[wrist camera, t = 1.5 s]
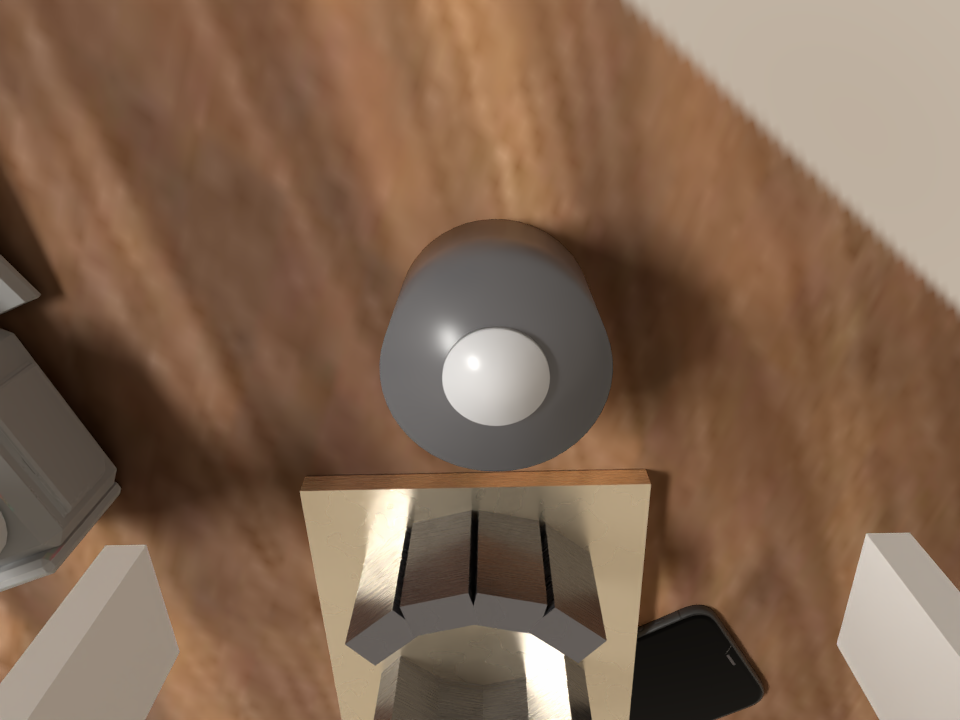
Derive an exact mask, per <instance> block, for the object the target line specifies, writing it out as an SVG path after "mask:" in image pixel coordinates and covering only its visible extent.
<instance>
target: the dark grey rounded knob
mask: <svg viewBox="0 0 960 720" xmlns="http://www.w3.org/2000/svg"><path fill="white" fill-rule="evenodd" d="M612 374H613V359H612V353H611V347H610V343H609V340H608V336H607V333H606V330H605V328H604V325H603V323H602V320H601V318H600V315H599V312H598V310H597V307H596V305H595V302H594V300H593V297H592V294H591V292H590V289H589V287H588V284H587V282H586V279H585V277H584V274H583V272H582V270H581V268H580V266H579V265H578V263H577V262H576V260H575V259H574V257H573V256H572V255H571V253H570V252H569V251H568V250H567V249H566V248H565V247H564V246H563V245H562V244H561V243H560V242H558V241H557V240H556V239H555V238H553V237H552V236H550V235H549V234H547V233H545V232H544V231H542V230H540V229H538V228H535V227H533V226H531V225H528V224H524V223H521V222H517V221H511V220H502V219H489V220H479V221H474V222H470V223H466V224H463V225H460V226H458V227H455V228H453V229H451V230H449V231H447V232H445V233H443V234H442V235H440V236H439V237H437V238H436V239H435V240H433V241H432V242H431V243H430V244H429V245H428V246H427V247H425V248H424V249H423V250H422V252H421V253H420V254H419V255H418V256H417V258H416V259H415V260H414V262H413V264H412V265H411V267H410V269H409V270H408V273H407V275H406V277H405V280H404V282H403V285H402V288H401V291H400V294H399V297H398V300H397V303H396V306H395V309H394V311H393V314H392V317H391V320H390V323H389V326H388V329H387V332H386V335H385V338H384V342H383V346H382V349H381V356H380V380H381V385H382V391H383V394H384V397H385V400H386V403H387V405H388V407H389V409H390V411H391V413H392V415H393V417H394V418H395V420H396V421H397V423H398V424H399V426H400V427H401V428H402V429H403V431H404V432H405V433H406V434H407V435H408V436H409V437H410V438H411V439H412V440H413V441H414V442H415V443H417V444H418V445H419V446H420V447H422V448H423V449H425V450H426V451H427V452H429V453H430V454H432V455H434V456H436V457H438V458H440V459H442V460H444V461H446V462H449V463H452V464H454V465H457V466H461V467H465V468H469V469H474V470H481V471H511V470H517V469H523V468H527V467H531V466H534V465H537V464H540V463H543V462H545V461H547V460H550V459H552V458H554V457H556V456H557V455H559V454H561V453H563V452H564V451H566V450H567V449H569V448H570V447H571V446H573V445H574V444H575V443H577V442H578V441H579V440H580V439H581V438H582V437H583V436H584V435H585V434H586V433H587V432H588V430H589V429H590V428H591V427H592V425H593V424H594V423H595V421H596V420H597V418H598V417H599V415H600V413H601V412H602V410H603V407H604V405H605V403H606V401H607V398H608V394H609V391H610V387H611V382H612Z"/></svg>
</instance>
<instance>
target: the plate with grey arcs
mask: <svg viewBox="0 0 960 720" xmlns="http://www.w3.org/2000/svg"><path fill="white" fill-rule="evenodd" d="M650 490H651V483H650V480H649V477H648V474H647V471H646V469H638V470H590V471H542V472H494V473H445V474H397V475H349V476H306V477H305V479H304V482H303V484H302V487H301V489H300V496H301V501H302V507H303V512H304V518H305V523H306V528H307V534H308V539H309V545H310V550H311V556H312V561H313V566H314V572H315V577H316V583H317V588H318V593H319V599H320V604H321V610H322V615H323V621H324V626H325V631H326V637H327V642H328V648H329V653H330V659H331V664H332V669H333V675H334V680H335V686H336V691H337V696H338V702H339V707H340V713H341V718H342V720H629V716H630V705H631V694H632V683H633V673H634V662H635V651H636V640H637V630H638V619H639V608H640V597H641V586H642V576H643V565H644V554H645V543H646V533H647V522H648V511H649V500H650Z"/></svg>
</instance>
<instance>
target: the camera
mask: <svg viewBox="0 0 960 720" xmlns="http://www.w3.org/2000/svg"><path fill="white" fill-rule="evenodd" d="M40 295H41V294H40V293H39V292H38V291H37V290H36V289H35V288H34V287H33V286H32V285H31V284H30V283H29V282H28V281H27V280H26V279H25V278H24V277H23V276H22V275H21V274H20V273H19V272H18V271H17V270H16V269H15V268H14V267H13V266H12V265H11V264H10V263H9V262H8V261H7V260H6V259H5V258H3V257H2V256H1V255H0V315H1V314H3V313H5V312H7V311H10V310H12V309H14V308H16V307H19V306H21V305H23V304H25V303H28V302H30V301H32V300H34V299H37V298H39V296H40ZM116 471H117V468H116V467H115V466H114V464H113V463H112V462H111V460H110V459H109V458H108V457H107V455H106V454H105V453H104V451H103V450H102V449H101V447H100V446H99V445H98V443H97V442H96V441H95V439H94V438H93V437H92V435H91V434H90V433H89V432H88V430H87V429H86V428H85V426H84V425H83V424H82V422H81V421H80V420H79V418H78V417H77V416H76V414H75V413H74V412H73V411H72V409H71V408H70V407H69V405H68V404H67V403H66V401H65V400H64V399H63V397H62V396H61V395H60V393H59V392H58V391H57V389H56V388H55V387H54V386H53V384H52V383H51V382H50V380H49V379H48V378H47V376H46V375H45V374H44V372H43V371H42V370H41V368H40V367H39V366H38V364H37V363H36V362H35V361H34V359H33V358H32V357H31V355H30V354H29V353H28V351H27V350H26V349H25V347H24V346H23V345H22V343H21V342H20V341H19V339H18V338H17V337H16V336H15V334H14V333H12V332H9V331H6V330H3V329H0V592H1V591H4V590H7V589H10V588H13V587H15V586H18V585H21V584H24V583H27V582H30V581H32V580H35V579H38V578H41V577H44V576H47V575H49V574H52V573H55V572H56V570H57V569H58V568H59V567H60V566H61V564H62V563H63V562H64V561H65V559H66V558H67V557H68V556H69V555H70V553H71V552H72V551H73V550H74V549H75V547H76V546H77V545H78V544H79V543H80V541H81V540H82V539H83V538H84V537H85V535H86V534H87V533H88V532H89V531H90V529H91V528H92V527H93V526H94V525H95V523H96V522H97V521H98V520H99V518H100V517H101V516H102V515H103V514H104V512H105V511H106V510H107V509H108V508H109V506H110V505H111V504H112V503H113V502H114V500H115V499H116V498H117V497H118V496H119V494H120V491H121V487H120V486H119V485H118V483H117V482H114V480H115V475H116Z"/></svg>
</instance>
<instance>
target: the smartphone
mask: <svg viewBox="0 0 960 720" xmlns="http://www.w3.org/2000/svg"><path fill="white" fill-rule="evenodd" d="M763 695H764V687H763V684H762V682H761V680H760V678H759V677H758V675H757V674H756V672H755V671H754V669H753V668H752V666H751V665H750V663H749V662H748V660H747V659H746V657H745V656H744V655H743V653H742V652H741V650H740V649H739V647H738V646H737V644H736V643H735V641H734V640H733V638H732V637H731V635H730V634H729V632H728V631H727V630H726V628H725V627H724V625H723V624H722V622H721V621H720V619H719V618H718V617H717V615H716V614H715V612H714V611H713V610H711V609H710V608H709V607H706V606H703V605H692V606H688V607H685V608H682V609H680V610H678V611H675V612H673V613H671V614H668V615H666V616H664V617H661V618H659V619H657V620H654V621H652V622H650V623H647V624H645V625H643V626H641V627H638V630H637V640H636V651H635V662H634V673H633V683H632V694H631V705H630V716H629V720H716V719H719V718H721V717H724V716H727V715H729V714H732V713H735V712H737V711H740V710H743V709H745V708H748V707H750V706H753V705H755V704H756V703H758V702H759V701H760V700H761V699H762V698H763Z"/></svg>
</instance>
